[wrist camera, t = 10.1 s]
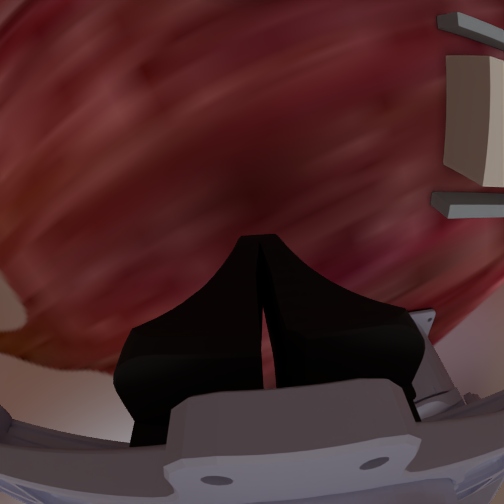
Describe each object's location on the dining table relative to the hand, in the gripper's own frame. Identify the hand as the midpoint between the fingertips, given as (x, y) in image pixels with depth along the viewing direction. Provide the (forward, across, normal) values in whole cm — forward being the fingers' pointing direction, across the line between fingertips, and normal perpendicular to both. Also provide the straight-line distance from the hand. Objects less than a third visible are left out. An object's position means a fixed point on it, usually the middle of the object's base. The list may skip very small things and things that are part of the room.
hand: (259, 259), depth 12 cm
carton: (+10, -19, -5) cm, 22 cm away
